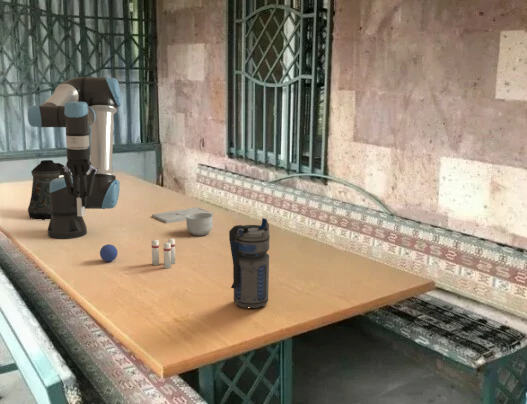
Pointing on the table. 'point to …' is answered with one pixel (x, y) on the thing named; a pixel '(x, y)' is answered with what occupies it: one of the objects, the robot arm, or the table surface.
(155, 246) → the front pin
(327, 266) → the table surface
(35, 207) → the beer stein
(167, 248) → the pin
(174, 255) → the pin
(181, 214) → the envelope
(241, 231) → the beverage bottle
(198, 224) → the teacup
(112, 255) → the ball
